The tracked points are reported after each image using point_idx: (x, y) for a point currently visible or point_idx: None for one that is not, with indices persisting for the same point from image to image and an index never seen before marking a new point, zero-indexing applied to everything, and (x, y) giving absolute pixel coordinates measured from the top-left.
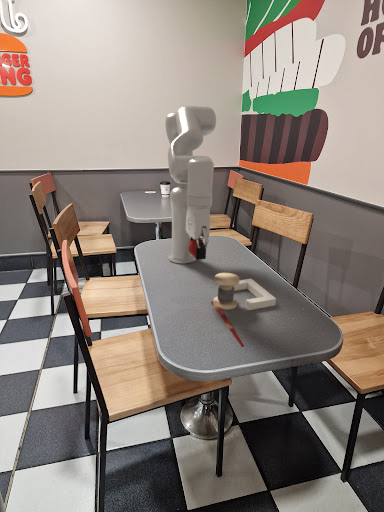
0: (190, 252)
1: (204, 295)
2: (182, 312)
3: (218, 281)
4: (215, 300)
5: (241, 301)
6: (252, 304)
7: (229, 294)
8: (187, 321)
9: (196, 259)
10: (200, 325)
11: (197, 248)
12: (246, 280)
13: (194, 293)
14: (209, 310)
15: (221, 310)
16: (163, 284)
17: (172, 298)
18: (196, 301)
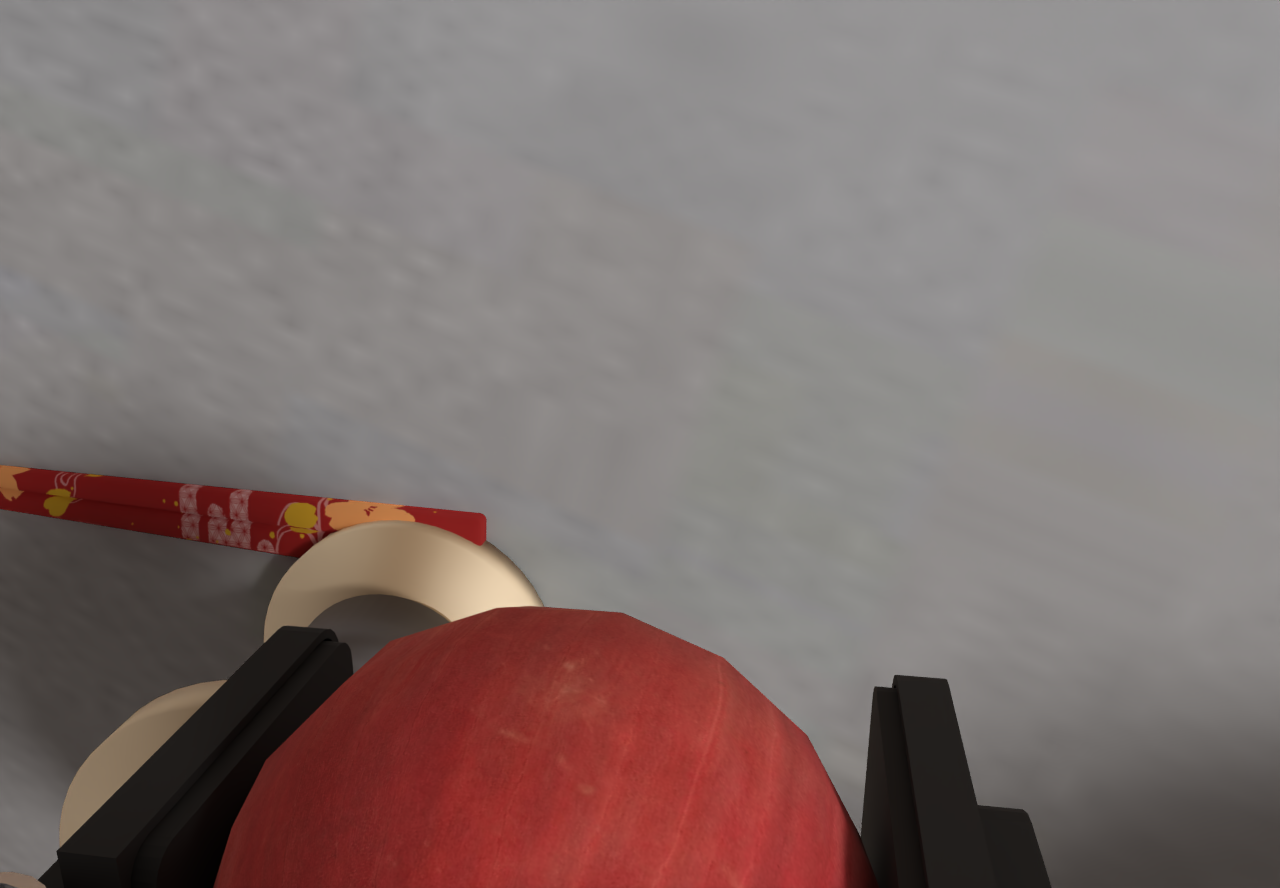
0: (476, 614)
1: (681, 513)
2: (333, 75)
3: (147, 715)
4: (445, 569)
5: None
6: None
7: None
8: (127, 70)
9: (291, 627)
10: (33, 194)
11: (68, 869)
12: None
13: (777, 412)
14: (315, 420)
15: (259, 539)
16: (1268, 34)
17: (736, 50)
18: (558, 354)
